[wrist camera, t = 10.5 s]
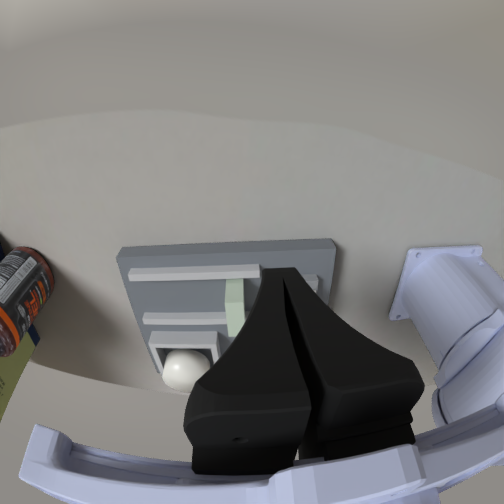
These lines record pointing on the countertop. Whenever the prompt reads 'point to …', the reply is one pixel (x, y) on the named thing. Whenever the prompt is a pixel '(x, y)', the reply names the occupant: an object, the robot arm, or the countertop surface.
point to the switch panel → (209, 287)
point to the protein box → (15, 362)
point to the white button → (184, 369)
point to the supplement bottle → (21, 295)
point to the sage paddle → (234, 305)
